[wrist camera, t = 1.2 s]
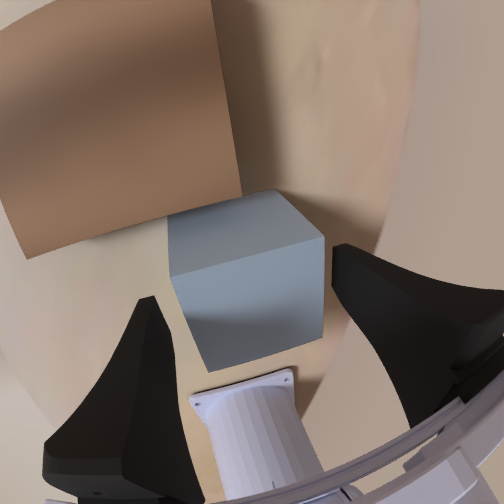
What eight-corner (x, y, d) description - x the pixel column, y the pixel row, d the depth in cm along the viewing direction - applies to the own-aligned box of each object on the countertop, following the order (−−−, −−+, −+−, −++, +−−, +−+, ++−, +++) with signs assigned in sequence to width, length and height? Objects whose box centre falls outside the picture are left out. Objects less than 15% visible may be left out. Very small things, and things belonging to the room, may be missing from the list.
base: (226, 174, 13) (242, 196, 10) (49, 227, 11) (26, 259, 9) (195, -13, 8) (204, -40, 6) (4, 56, 7) (-30, 52, 4)
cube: (282, 273, 16) (322, 337, 12) (193, 298, 15) (208, 372, 11) (273, 187, 13) (324, 236, 9) (167, 213, 13) (169, 277, 8)
